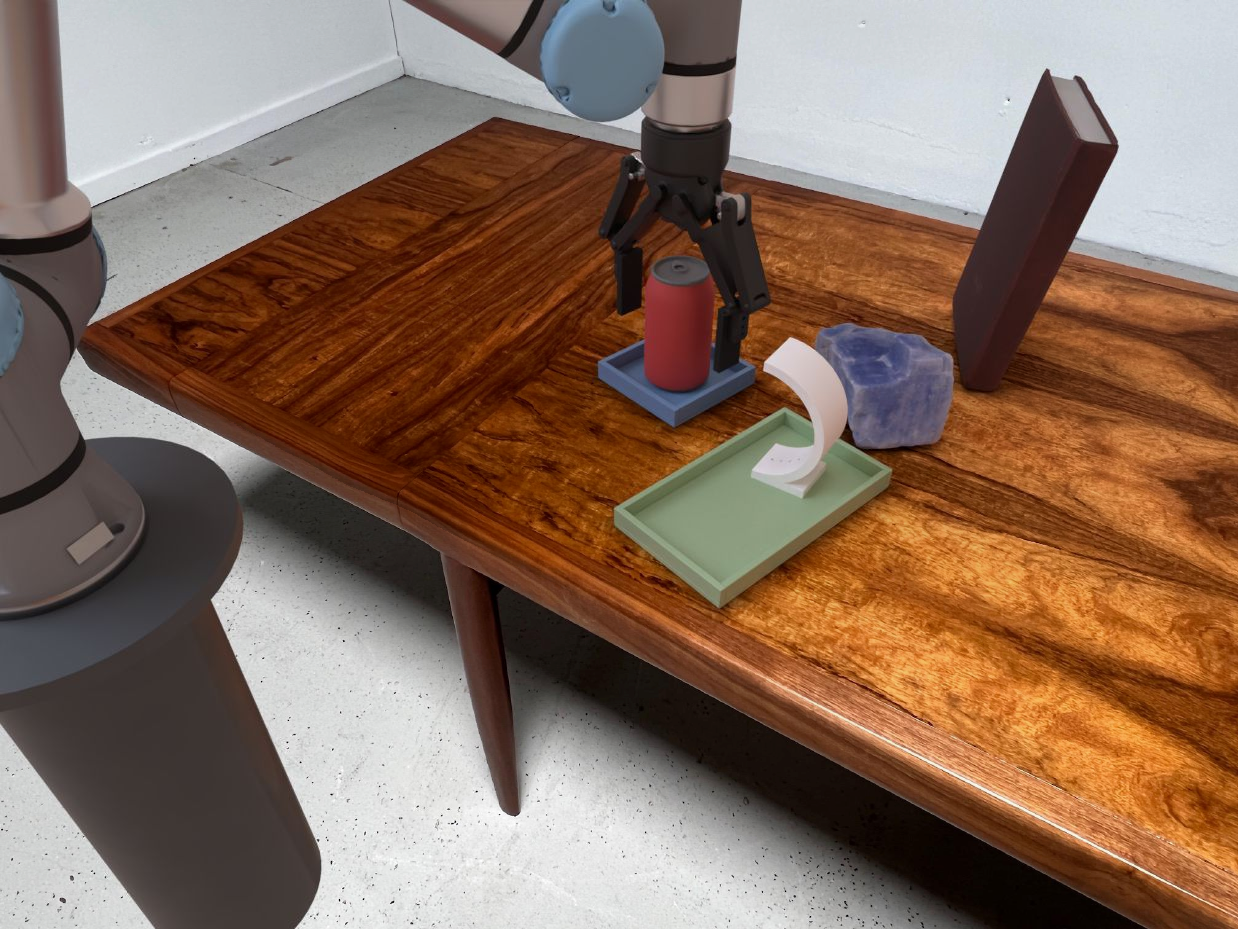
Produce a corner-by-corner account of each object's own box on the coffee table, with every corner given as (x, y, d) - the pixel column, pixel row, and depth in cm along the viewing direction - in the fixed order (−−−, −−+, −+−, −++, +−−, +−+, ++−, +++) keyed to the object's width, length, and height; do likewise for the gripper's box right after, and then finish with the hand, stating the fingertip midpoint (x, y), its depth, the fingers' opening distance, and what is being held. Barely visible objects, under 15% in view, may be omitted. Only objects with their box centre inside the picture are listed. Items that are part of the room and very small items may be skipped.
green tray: (719, 609, 69) (721, 591, 67) (613, 525, 76) (613, 507, 74) (888, 486, 79) (893, 469, 78) (782, 423, 86) (784, 406, 85)
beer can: (700, 355, 95) (706, 249, 87) (716, 391, 90) (724, 282, 82) (638, 361, 94) (639, 255, 86) (650, 398, 89) (653, 288, 81)
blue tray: (674, 428, 86) (674, 411, 85) (598, 377, 92) (597, 361, 91) (754, 383, 92) (756, 366, 90) (677, 338, 98) (678, 322, 97)
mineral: (981, 354, 79) (878, 366, 76) (956, 447, 84) (859, 461, 81) (895, 293, 90) (803, 301, 88) (878, 378, 96) (791, 388, 93)
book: (1125, 148, 72) (1070, 138, 72) (999, 396, 90) (955, 387, 90) (1090, 73, 84) (1043, 65, 84) (985, 305, 102) (946, 297, 102)
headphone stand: (774, 450, 83) (790, 336, 75) (836, 474, 80) (859, 359, 72) (750, 477, 80) (763, 362, 72) (813, 503, 77) (834, 386, 69)
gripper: (835, 148, 70) (799, 377, 83) (621, 72, 84) (620, 278, 98) (769, 173, 66) (743, 409, 80) (557, 89, 80) (565, 301, 94)
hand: (675, 337), depth 89 cm, fingers open, 13 cm apart
